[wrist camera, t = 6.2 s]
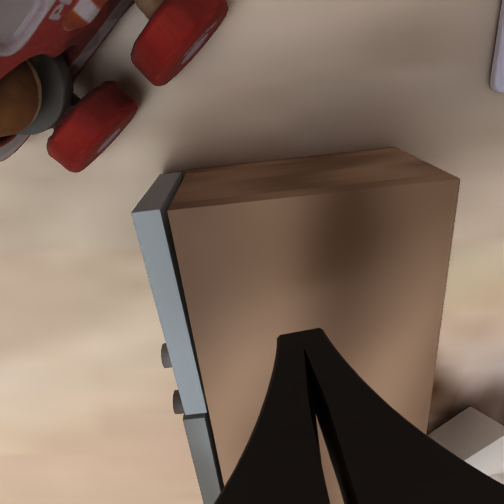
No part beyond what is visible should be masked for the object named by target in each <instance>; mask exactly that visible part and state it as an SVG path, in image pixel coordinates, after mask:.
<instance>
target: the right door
mask: <svg viewBox="0 0 504 504" xmlns="http://www.w3.org/2000/svg"><path fill="white" fill-rule="evenodd" d="M181 182H182V175H181V172H175V173H167V174H160V175H159V177H158V178H157V179H156V181H155V182H154V183H153V185H152V186H151V187H150V188H149V190H148V191H147V192H146V194H145V195H144V196H143V198H142V199H141V200H140V202H139V203H138V204H137V206H136V207H135V208H134V210H133V211H132V212H131V214H132V218H133V222H134V226H135V229H136V233H137V237H138V241H139V244H140V248H141V252H142V256H143V259H144V263H145V267H146V270H147V274H148V278H149V282H150V285H151V289H152V293H153V297H154V300H155V304H156V308H157V311H158V315H159V319H160V323H161V326H162V330H163V334H164V338H165V341H166V343H164V344H163V345H162V349H161V358H162V364H163V366H164V368H170V367H173V371H174V375H175V379H176V382H177V386H178V390H179V394H180V397H181V401H182V405H183V408H184V412H185V415H190V414H199V413H207V407H208V405H207V401H206V396H205V391H204V386H203V381H202V376H201V371H200V367H199V362H198V357H197V352H196V347H195V342H194V338H193V333H192V328H191V323H190V318H189V313H188V309H187V304H186V299H185V294H184V289H183V284H182V280H181V275H180V270H179V265H178V260H177V255H176V251H175V246H174V241H173V236H172V231H171V226H170V222H169V217H168V212H167V210H168V208H169V206H170V204H171V202H172V200H173V198H174V196H175V194H176V192H177V190H178V188H179V186H180V184H181Z"/></svg>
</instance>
